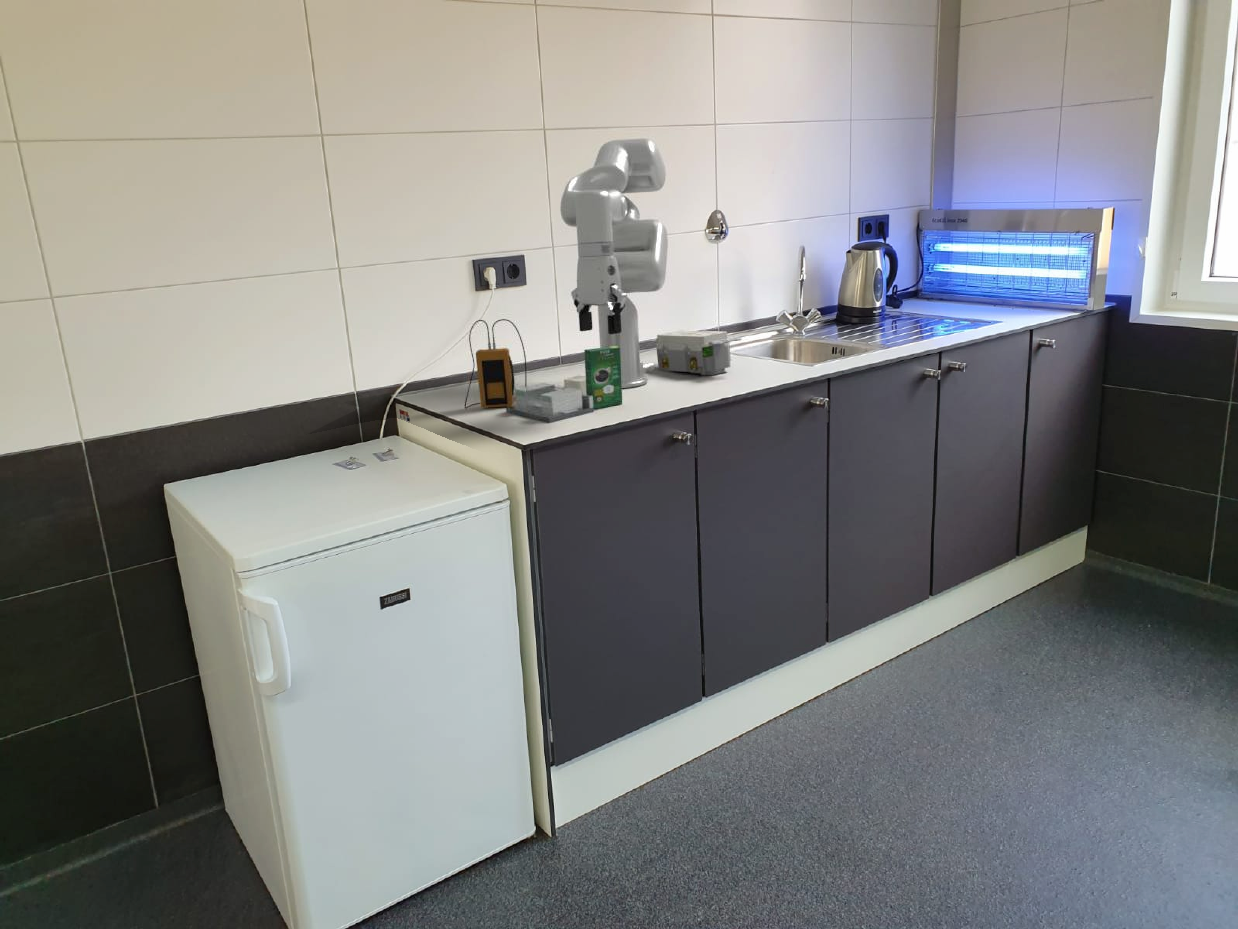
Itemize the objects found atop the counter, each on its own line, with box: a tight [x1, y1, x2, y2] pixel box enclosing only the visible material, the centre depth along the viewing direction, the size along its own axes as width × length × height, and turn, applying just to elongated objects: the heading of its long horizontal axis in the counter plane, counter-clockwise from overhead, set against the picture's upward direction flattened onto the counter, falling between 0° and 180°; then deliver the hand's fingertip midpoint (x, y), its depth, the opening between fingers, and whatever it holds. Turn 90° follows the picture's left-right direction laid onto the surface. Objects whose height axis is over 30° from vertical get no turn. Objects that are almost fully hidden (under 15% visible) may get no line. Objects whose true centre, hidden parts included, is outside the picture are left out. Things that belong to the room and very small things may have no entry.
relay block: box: [563, 375, 587, 395], centre depth 212 cm, size 5×5×5 cm
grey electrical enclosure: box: [645, 330, 742, 376], centre depth 236 cm, size 12×28×10 cm, turn 38°
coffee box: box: [583, 346, 623, 410], centre depth 203 cm, size 8×3×13 cm, turn 122°
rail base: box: [505, 382, 595, 424], centre depth 202 cm, size 12×16×5 cm
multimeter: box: [464, 318, 527, 410], centre depth 211 cm, size 15×10×20 cm
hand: (600, 331), depth 199 cm, fingers open, 9 cm apart
